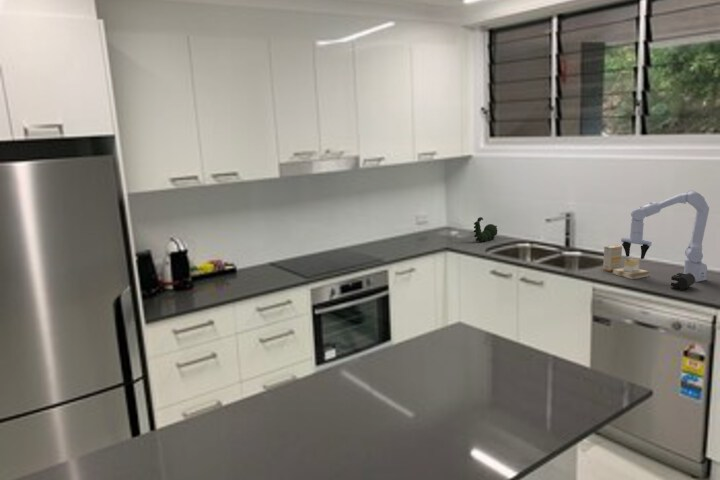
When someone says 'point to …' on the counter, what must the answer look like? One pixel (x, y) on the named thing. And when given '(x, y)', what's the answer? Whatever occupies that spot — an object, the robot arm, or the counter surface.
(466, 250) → the counter surface
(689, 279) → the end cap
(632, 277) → the stand
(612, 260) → the supplement box
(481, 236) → the toy figurine
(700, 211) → the robot arm
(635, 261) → the block
